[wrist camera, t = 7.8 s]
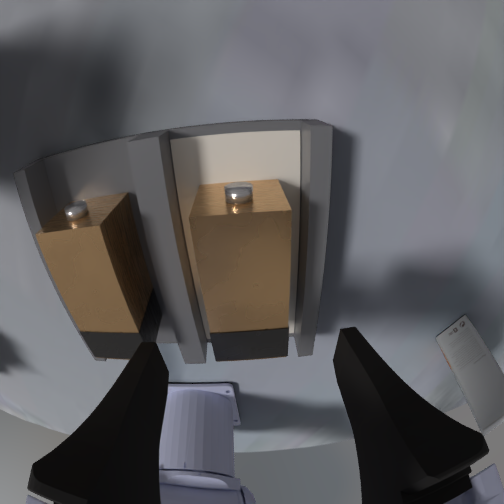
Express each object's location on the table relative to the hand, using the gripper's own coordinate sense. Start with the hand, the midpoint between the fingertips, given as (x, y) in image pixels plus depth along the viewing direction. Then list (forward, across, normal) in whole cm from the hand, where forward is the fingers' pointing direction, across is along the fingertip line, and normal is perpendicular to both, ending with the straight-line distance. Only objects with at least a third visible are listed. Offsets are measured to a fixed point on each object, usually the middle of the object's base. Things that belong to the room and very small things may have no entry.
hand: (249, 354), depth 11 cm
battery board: (+8, +4, 0) cm, 9 cm away
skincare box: (+8, -22, +13) cm, 27 cm away
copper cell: (+7, 0, 0) cm, 7 cm away
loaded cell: (+7, +8, 0) cm, 11 cm away
